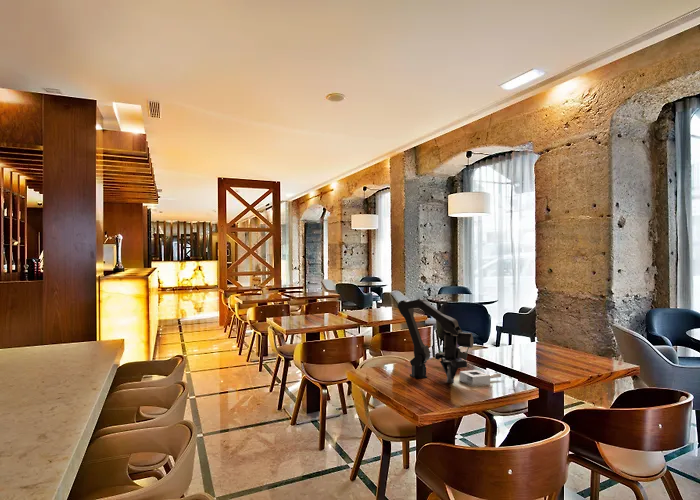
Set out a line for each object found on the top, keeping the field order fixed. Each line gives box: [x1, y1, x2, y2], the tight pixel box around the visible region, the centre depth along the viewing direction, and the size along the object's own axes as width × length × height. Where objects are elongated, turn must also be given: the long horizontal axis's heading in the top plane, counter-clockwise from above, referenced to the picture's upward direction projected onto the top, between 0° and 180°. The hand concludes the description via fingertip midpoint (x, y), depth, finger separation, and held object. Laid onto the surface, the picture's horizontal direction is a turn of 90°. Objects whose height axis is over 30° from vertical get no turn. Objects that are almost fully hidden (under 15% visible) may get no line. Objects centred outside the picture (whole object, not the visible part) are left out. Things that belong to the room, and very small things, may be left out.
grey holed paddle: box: [459, 369, 502, 388], centre depth 193 cm, size 20×10×4 cm, turn 110°
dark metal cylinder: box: [446, 365, 455, 384], centre depth 192 cm, size 3×3×8 cm
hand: (450, 377), depth 191 cm, fingers closed on dark metal cylinder, 3 cm apart
